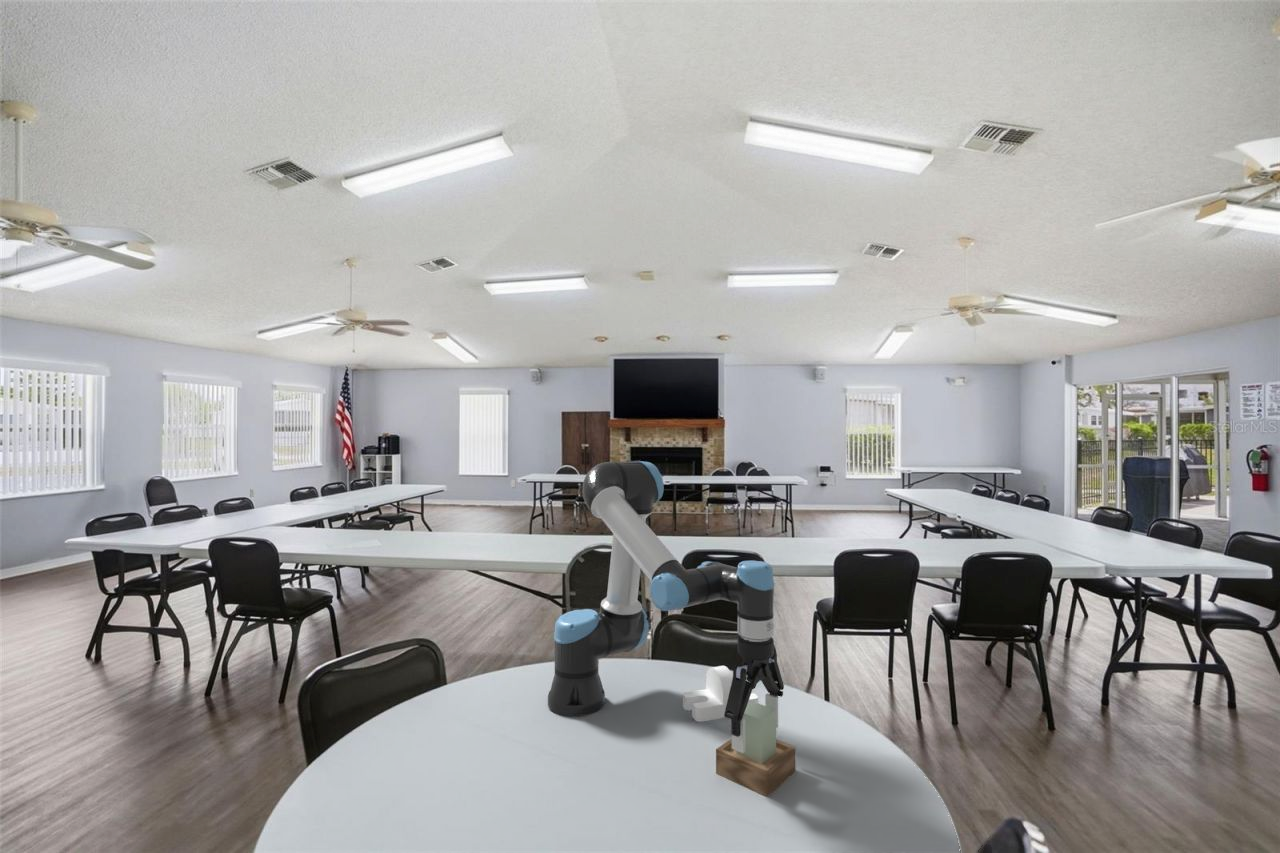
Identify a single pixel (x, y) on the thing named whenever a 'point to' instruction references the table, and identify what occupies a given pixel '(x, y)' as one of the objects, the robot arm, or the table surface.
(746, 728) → the green block
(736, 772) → the brown crate
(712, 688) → the white slotted block
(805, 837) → the table surface
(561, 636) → the robot arm
